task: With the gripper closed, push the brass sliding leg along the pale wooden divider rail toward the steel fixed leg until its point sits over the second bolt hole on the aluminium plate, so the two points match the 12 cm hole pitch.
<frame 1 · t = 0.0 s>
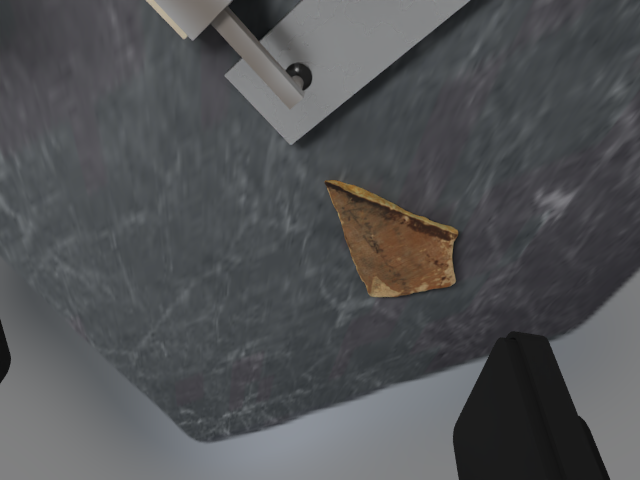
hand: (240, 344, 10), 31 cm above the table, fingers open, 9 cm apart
shard: (379, 241, 47), on the table
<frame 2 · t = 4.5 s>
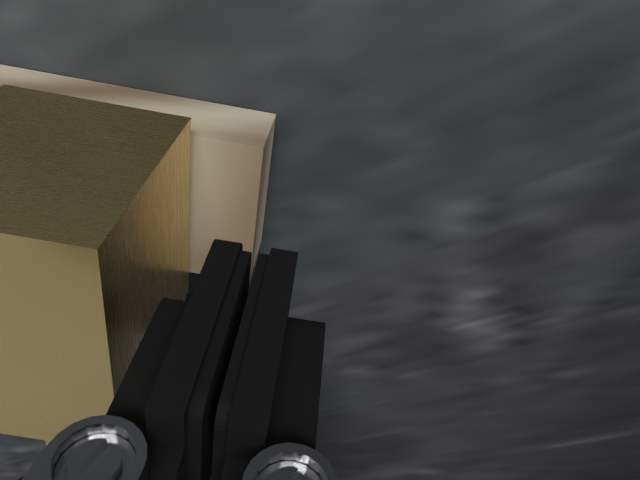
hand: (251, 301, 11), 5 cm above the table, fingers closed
sliding leg: (78, 372, 13), point 5 cm above the table, slide at -4.4 cm, touching gripper
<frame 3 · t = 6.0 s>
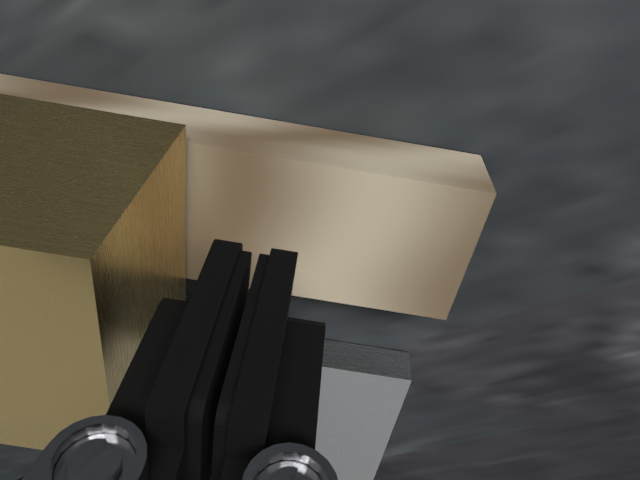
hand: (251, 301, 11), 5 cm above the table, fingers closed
sliding leg: (76, 380, 13), point 5 cm above the table, slide at 1.0 cm, touching gripper
divider rail: (28, 148, 14), on the table
bolt plate: (70, 366, 19), on the table
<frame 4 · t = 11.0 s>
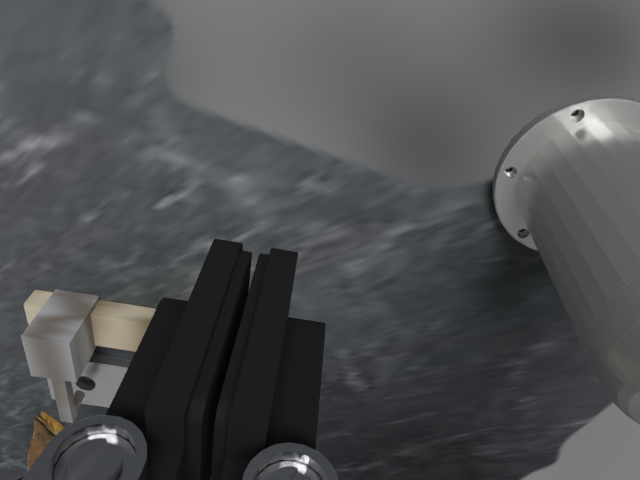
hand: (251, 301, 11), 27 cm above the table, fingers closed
divider rail: (164, 325, 50), on the table
shard: (56, 446, 64), on the table
bolt plate: (166, 386, 55), on the table
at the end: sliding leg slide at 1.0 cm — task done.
